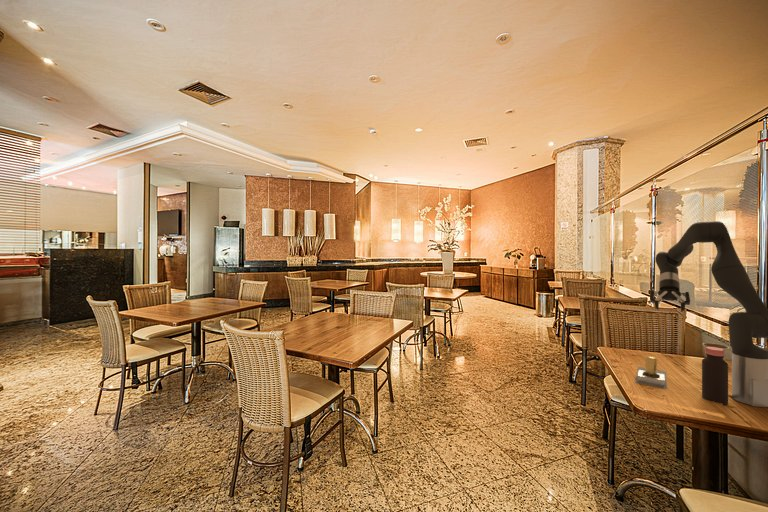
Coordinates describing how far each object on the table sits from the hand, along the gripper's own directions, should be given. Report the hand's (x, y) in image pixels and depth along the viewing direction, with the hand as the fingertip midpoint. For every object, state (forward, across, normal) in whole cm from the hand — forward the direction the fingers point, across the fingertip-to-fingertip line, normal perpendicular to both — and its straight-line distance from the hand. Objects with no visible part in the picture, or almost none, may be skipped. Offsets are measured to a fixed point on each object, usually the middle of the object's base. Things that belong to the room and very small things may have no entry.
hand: (669, 309), depth 150 cm
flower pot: (+2, +17, +39) cm, 43 cm away
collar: (+37, -6, +2) cm, 37 cm away
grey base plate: (+34, -6, +7) cm, 35 cm away
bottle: (+42, +12, -2) cm, 44 cm away
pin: (+37, -6, +2) cm, 37 cm away
